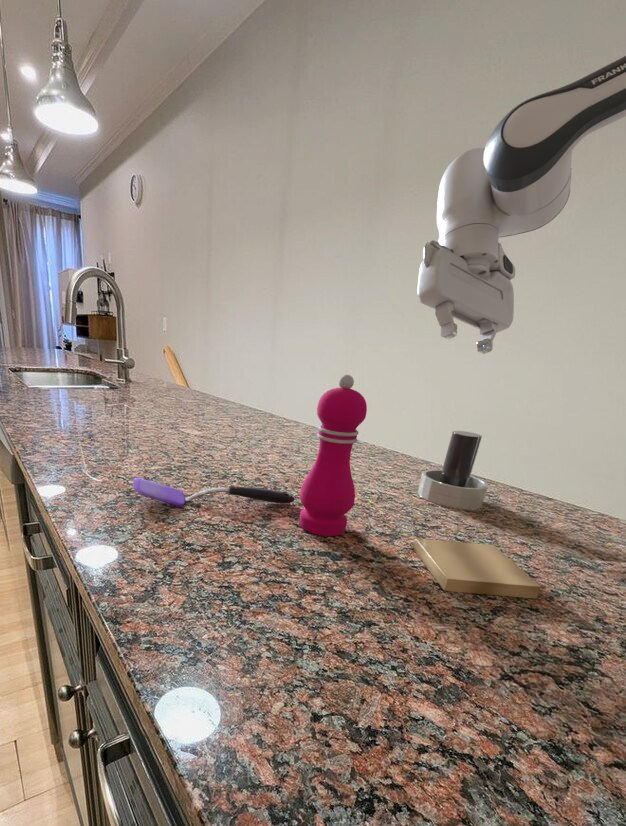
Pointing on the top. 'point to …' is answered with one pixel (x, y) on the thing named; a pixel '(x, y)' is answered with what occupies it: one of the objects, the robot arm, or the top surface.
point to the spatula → (179, 499)
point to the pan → (452, 491)
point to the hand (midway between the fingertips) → (467, 344)
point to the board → (474, 569)
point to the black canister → (460, 458)
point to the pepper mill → (333, 461)
